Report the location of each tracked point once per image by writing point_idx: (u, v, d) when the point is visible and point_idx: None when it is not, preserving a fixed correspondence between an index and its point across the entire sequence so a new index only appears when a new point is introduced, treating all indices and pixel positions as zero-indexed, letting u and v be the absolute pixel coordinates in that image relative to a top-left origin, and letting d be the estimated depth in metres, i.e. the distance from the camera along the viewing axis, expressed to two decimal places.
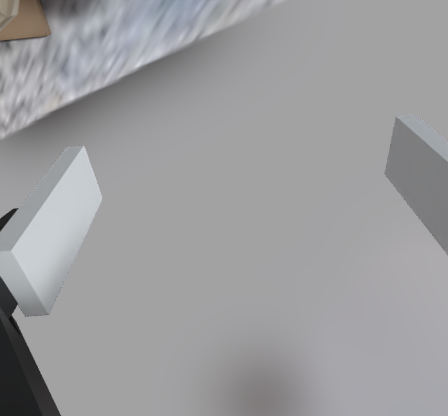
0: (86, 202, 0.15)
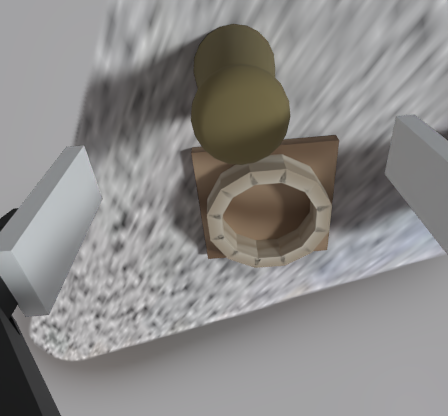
0: (86, 202, 0.15)
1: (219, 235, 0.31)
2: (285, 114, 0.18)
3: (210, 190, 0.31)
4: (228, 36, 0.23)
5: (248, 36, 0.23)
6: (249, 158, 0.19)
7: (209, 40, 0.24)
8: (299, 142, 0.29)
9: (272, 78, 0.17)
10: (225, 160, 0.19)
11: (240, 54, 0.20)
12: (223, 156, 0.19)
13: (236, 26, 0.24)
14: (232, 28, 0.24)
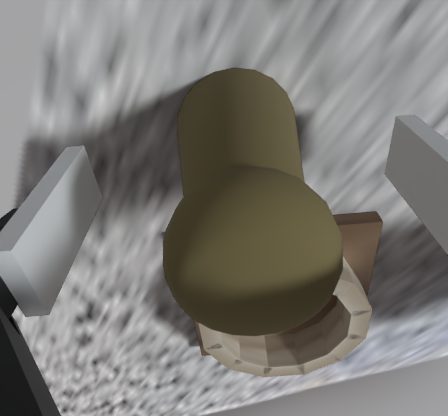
0: (86, 202, 0.15)
1: (216, 344, 0.23)
2: (338, 267, 0.09)
3: None
4: (228, 91, 0.15)
5: (259, 91, 0.15)
6: (269, 333, 0.10)
7: (199, 94, 0.16)
8: None
9: (315, 203, 0.09)
10: (225, 332, 0.11)
11: (248, 132, 0.12)
12: (221, 330, 0.10)
13: (239, 72, 0.16)
14: (234, 76, 0.16)
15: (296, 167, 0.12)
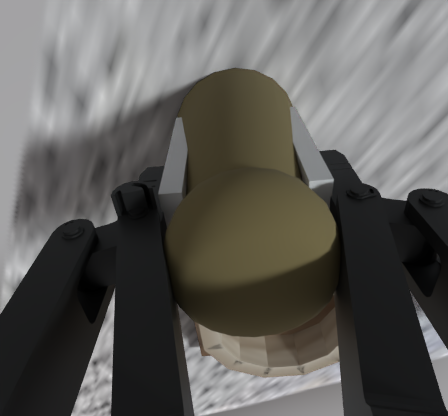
0: None
1: (216, 345, 0.23)
2: (339, 268, 0.09)
3: None
4: (229, 91, 0.15)
5: (259, 91, 0.15)
6: (269, 334, 0.10)
7: (199, 95, 0.16)
8: None
9: (315, 204, 0.09)
10: (225, 333, 0.10)
11: (248, 133, 0.12)
12: (222, 331, 0.10)
13: (239, 72, 0.16)
14: (234, 76, 0.16)
15: (296, 168, 0.12)
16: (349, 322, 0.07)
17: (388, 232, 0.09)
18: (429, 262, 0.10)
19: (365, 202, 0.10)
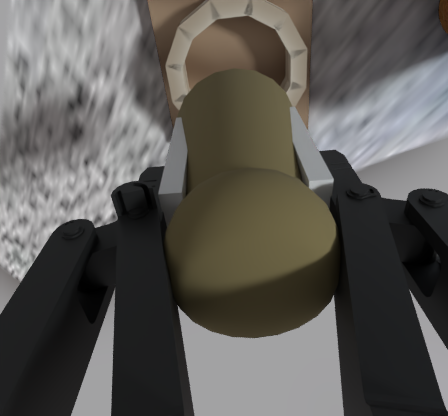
0: None
1: (182, 95, 0.27)
2: (339, 269, 0.09)
3: (171, 45, 0.28)
4: (228, 92, 0.15)
5: (259, 91, 0.15)
6: (269, 334, 0.10)
7: (198, 95, 0.16)
8: None
9: (315, 204, 0.09)
10: (225, 334, 0.10)
11: (248, 133, 0.12)
12: (221, 331, 0.10)
13: (239, 73, 0.16)
14: (233, 76, 0.16)
15: (296, 168, 0.12)
16: (349, 322, 0.07)
17: (388, 232, 0.09)
18: (429, 262, 0.10)
19: (365, 202, 0.10)
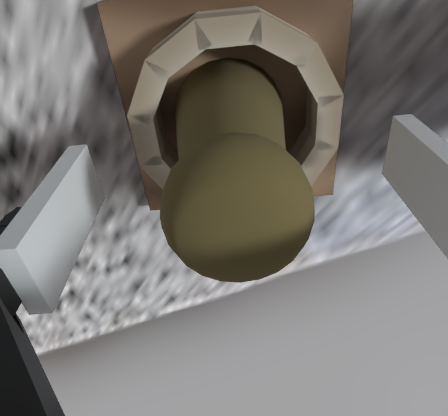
0: (89, 201, 0.15)
1: (154, 157, 0.18)
2: (309, 216, 0.11)
3: None
4: (220, 76, 0.16)
5: (247, 76, 0.17)
6: (251, 276, 0.12)
7: (194, 80, 0.17)
8: None
9: (288, 160, 0.11)
10: (214, 278, 0.12)
11: (236, 109, 0.14)
12: (210, 274, 0.12)
13: (231, 61, 0.18)
14: (225, 64, 0.17)
15: (277, 139, 0.14)
16: None
17: None
18: None
19: None
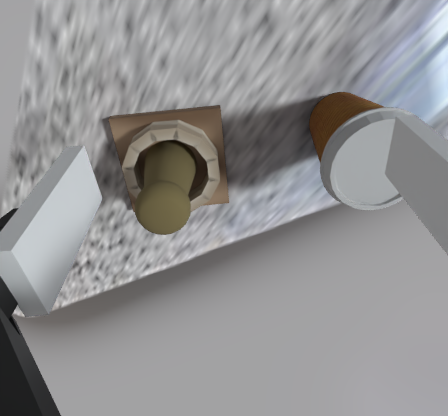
0: (86, 202, 0.15)
1: (134, 185, 0.40)
2: (185, 209, 0.32)
3: (127, 150, 0.40)
4: (162, 151, 0.38)
5: (174, 151, 0.38)
6: (168, 231, 0.33)
7: (152, 151, 0.39)
8: (190, 110, 0.38)
9: (177, 190, 0.32)
10: (155, 232, 0.33)
11: (165, 168, 0.35)
12: (153, 231, 0.33)
13: (169, 142, 0.39)
14: (166, 144, 0.39)
15: (181, 180, 0.35)
16: None
17: None
18: None
19: None
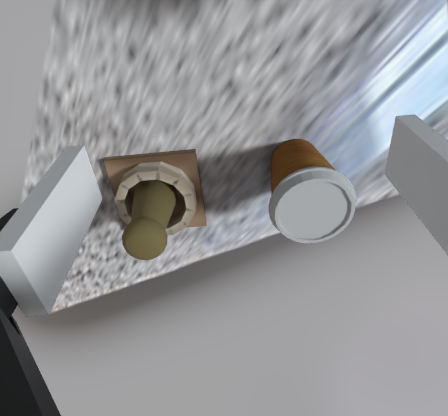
0: (86, 202, 0.15)
1: (125, 214, 0.48)
2: (161, 241, 0.41)
3: (119, 185, 0.48)
4: (147, 188, 0.46)
5: (157, 187, 0.46)
6: (148, 258, 0.42)
7: (139, 187, 0.47)
8: (170, 154, 0.46)
9: (155, 227, 0.40)
10: (138, 258, 0.42)
11: (148, 205, 0.43)
12: (137, 257, 0.42)
13: None
14: (150, 181, 0.47)
15: (161, 215, 0.43)
16: None
17: None
18: None
19: None
